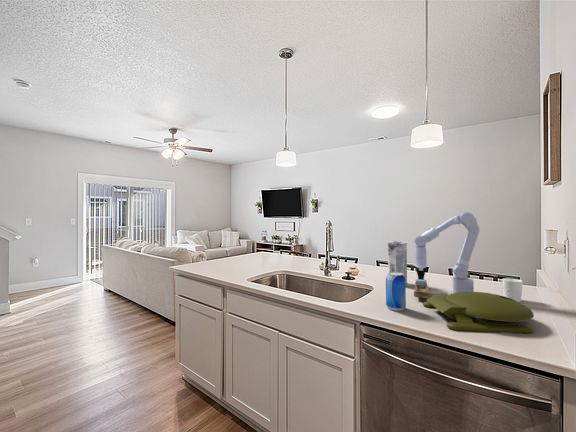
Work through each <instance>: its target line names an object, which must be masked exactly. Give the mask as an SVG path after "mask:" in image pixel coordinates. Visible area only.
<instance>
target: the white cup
mask: <svg viewBox="0 0 576 432" xmlns="http://www.w3.org/2000/svg"><path fill="white" fill-rule="evenodd" d="M501 282H502V293H503V296H504V297H507V298H510V299H513V300H515V301H516V302H519V303H521V302H522V296H523V295H522V294H523V280H522V279H518V278H509V277H505V278H502V280H501Z"/></svg>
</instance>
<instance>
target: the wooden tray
mask: <svg viewBox="0 0 576 432" xmlns="http://www.w3.org/2000/svg"><path fill="white" fill-rule="evenodd" d="M428 288H429V287H428V285H427V286H424V288H421V287H418V285H416V281H415V282H414V291H413V295H414V297H415V298H421V299H429V298H430V292H429V289H428Z"/></svg>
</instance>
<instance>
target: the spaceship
mask: <svg viewBox="0 0 576 432" xmlns="http://www.w3.org/2000/svg"><path fill="white" fill-rule="evenodd" d="M422 306H424V307H425V308H430V309H437V310H438V311H440V313H441V314H443V315H444V316H446V317H447V318H449V319H450V320H456V321H449V322H447V323H446V327H447V328H448V329H450V330H452V331H458V332H459V331H461V332H484V333H485V332H486V333H489V332H490V333H504V334H505V333H507V334H509V333H511V334H527V335H528V334H533V333H534V332H535V331H534V330H535V329H534V328H533V327H532V326H530V325H526V324H517V323H518V322H525V321H530V320H532V319H533V318H534V316H535V315H534V313H533V311H532V309H531V308H529V307H528V306H527V305H525V304H524V303H521V302H516V301H515V300H513V299H510V298H507V297H504V295H499V294H495V293H490V292H483V291H474V292H457V293H453V294H452V293H451V294H433V295H432V296H429V298H426V301H424V302H423V303H422ZM475 318H477V319H481V320H482V319H484V320H490V321H498V322H517V323H516V324H515V323H514V324H513V323H511V324H510V323H491V322H490V323H487V322H485V323H483V322H474V321H473V319H475Z"/></svg>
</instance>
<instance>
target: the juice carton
mask: <svg viewBox="0 0 576 432" xmlns="http://www.w3.org/2000/svg"><path fill="white" fill-rule="evenodd" d="M407 244H408V243H407V242H403V241H402V242H401V241H398V240H392V241H391V242H387V264H388V266H387V268H388V269H387V270H388V272H387V274H388V273H389V272H399V273H403V276H404V277H405V280H406V284H407V283H408V264H407V263H408V258H407V257H408V254H407V253H408V249H407V248H408V247H407Z"/></svg>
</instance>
